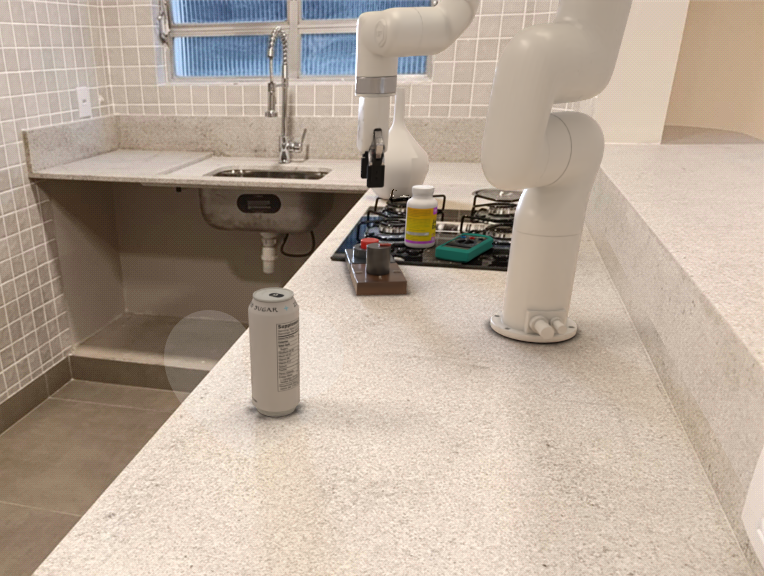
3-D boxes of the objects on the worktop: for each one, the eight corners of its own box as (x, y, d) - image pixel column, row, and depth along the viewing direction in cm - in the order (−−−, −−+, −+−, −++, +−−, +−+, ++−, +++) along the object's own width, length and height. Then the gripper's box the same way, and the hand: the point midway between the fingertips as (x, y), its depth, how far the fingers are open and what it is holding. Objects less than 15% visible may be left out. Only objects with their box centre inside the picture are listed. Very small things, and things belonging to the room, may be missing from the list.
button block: (395, 272, 138) (396, 253, 136) (349, 274, 138) (349, 254, 136) (387, 257, 148) (388, 239, 146) (344, 259, 148) (345, 240, 146)
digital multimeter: (494, 248, 152) (495, 234, 150) (467, 264, 141) (468, 250, 140) (461, 244, 156) (463, 231, 154) (433, 259, 145) (434, 245, 144)
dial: (367, 275, 128) (368, 247, 126) (364, 268, 132) (365, 241, 130) (391, 275, 128) (392, 246, 126) (388, 268, 132) (389, 240, 130)
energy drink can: (272, 392, 92) (268, 282, 85) (309, 404, 88) (309, 291, 82) (242, 410, 87) (236, 296, 81) (280, 423, 84) (277, 305, 77)
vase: (360, 202, 200) (364, 90, 188) (366, 190, 216) (370, 86, 204) (426, 203, 196) (434, 88, 183) (427, 191, 212) (434, 85, 199)
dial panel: (406, 294, 125) (407, 280, 124) (356, 295, 126) (356, 281, 125) (396, 275, 136) (397, 261, 135) (350, 276, 137) (350, 263, 136)
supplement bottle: (434, 249, 152) (439, 189, 147) (404, 249, 153) (407, 189, 148) (434, 241, 158) (438, 184, 152) (404, 241, 159) (407, 184, 154)
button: (379, 250, 140) (380, 241, 139) (361, 251, 140) (361, 242, 139) (377, 245, 143) (377, 237, 142) (359, 246, 143) (360, 238, 142)
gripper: (350, 85, 135) (348, 175, 143) (360, 90, 120) (357, 191, 127) (389, 84, 135) (384, 174, 143) (404, 89, 120) (398, 190, 127)
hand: (371, 182), depth 135 cm, fingers open, 9 cm apart
